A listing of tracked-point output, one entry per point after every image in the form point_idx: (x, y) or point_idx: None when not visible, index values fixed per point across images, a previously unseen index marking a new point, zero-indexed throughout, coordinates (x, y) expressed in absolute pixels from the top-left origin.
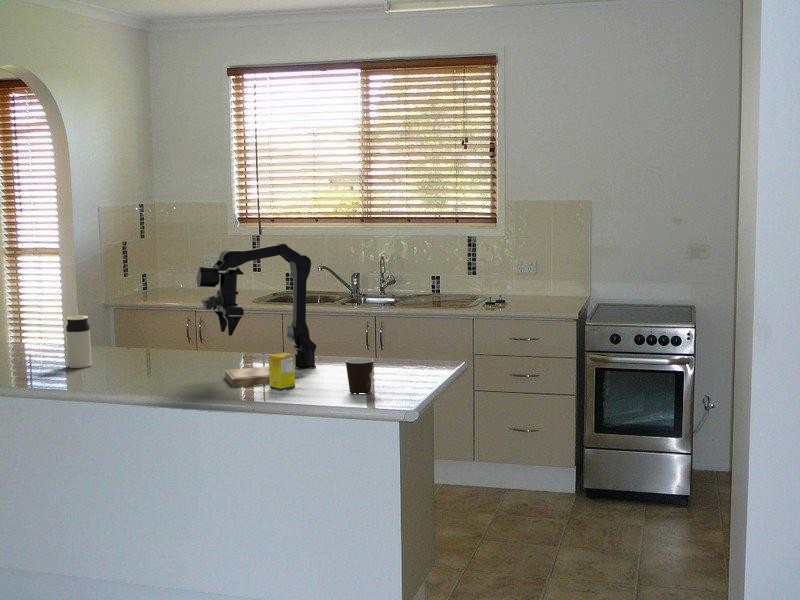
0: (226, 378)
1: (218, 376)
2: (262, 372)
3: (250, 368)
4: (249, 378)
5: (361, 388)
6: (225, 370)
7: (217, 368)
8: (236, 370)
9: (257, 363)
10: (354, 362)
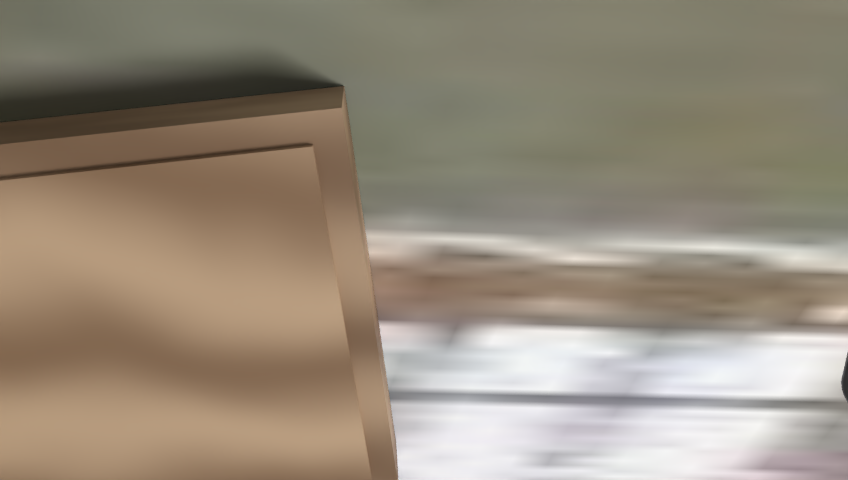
0: (249, 97)
1: (417, 17)
2: (110, 431)
3: (325, 348)
4: None
5: None
6: (314, 113)
7: (839, 26)
8: (251, 227)
9: (839, 364)
10: None
